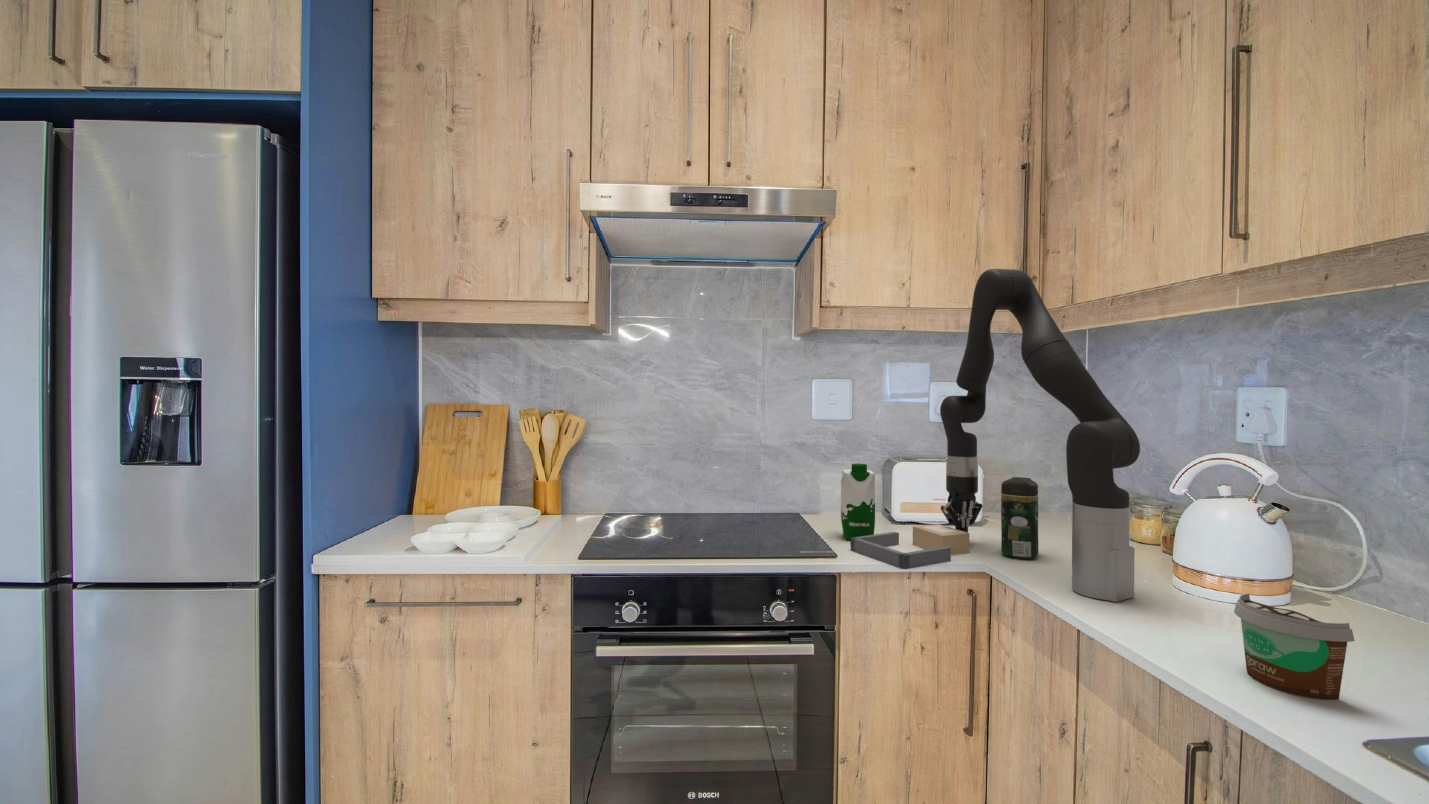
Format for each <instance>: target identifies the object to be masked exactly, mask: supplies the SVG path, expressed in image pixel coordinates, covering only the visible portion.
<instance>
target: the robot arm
mask: <svg viewBox="0 0 1429 804" xmlns="http://www.w3.org/2000/svg"><path fill="white" fill-rule="evenodd" d="M997 310H1004V311H1005V310H1008V311H1009V312H1010V313H1011V314H1012V315H1013V316H1014V318H1015V319H1016V322H1017V323H1018V324H1019V325H1020V329H1021V331H1022V332H1021V333H1022V334H1021V335H1022V336H1021V343H1020V344H1021V347H1020V353H1021V358H1022V360H1023V362H1024V365H1025V366H1026V368H1027V369H1028V371H1029V373H1030V374H1031V376H1032V378H1033V379H1034V380H1035V382H1036V384H1038V385H1039V387H1041V388H1042V389H1043V390H1044V391H1045V392H1047V393H1048V394H1049V395H1050V396H1051V397H1053V398H1054V399H1055V400H1057V402H1059V403H1061V404H1063V406H1065V407H1066V408H1067V409H1068V410H1069V411H1070V412H1071V413H1072V414H1073V415H1074V416H1075V418H1076V419H1077V420H1078V421H1079V423H1078V424H1076V425H1074V426H1073V427H1072V428H1071V430H1070V431H1069V433H1068V436H1067V439H1066V445H1065V446H1066V447H1065V449H1066V451H1065V454H1066V457H1065V458H1066V471H1067V474H1066V476H1067V477H1066V478H1067V484H1068V488H1069V490H1070V493H1071V495H1072V496H1071V498H1072V506H1071V507H1072V509H1071V510H1072V511H1071V515H1072V516H1071V520H1072V521H1071V522H1072V523H1071V526H1072V527H1071V530H1072V531H1071V532H1072V533H1071V535H1072V536H1071V541H1072V542H1071V589H1072V591H1073V592H1074V593H1076V594H1079V595H1082V596H1084V597H1089V598H1092V599H1097V600H1103V601H1104V600H1105V601H1109V602H1113V603H1118V602H1122V601H1125V600H1129V599H1132V598H1135V548H1134V547H1133V546H1131V545H1130V502H1131V501H1130V494H1129V492H1128V491H1127V490H1126V489H1123V488H1122V487H1120V486H1118V485H1117V484H1116V481H1115V478H1114V477H1115V476H1114V469H1122V468H1125V467H1126V468H1127V467H1129V466H1131V465H1133V464H1135V462H1137V460H1138V458H1139V456H1140V454H1141V444H1140V439H1139V437H1138V435H1137V433H1136V432H1135V430H1134V429H1133V427H1132V426H1131V425H1130V423H1128V421H1127V420H1126V419H1125V418H1124V417H1123V415H1122V414H1121V413H1120V412H1119V411H1118V409H1117V408H1116V407H1115V406H1114V405H1113V404H1112V402H1111V401H1109V399H1108V398H1107V397H1106V395H1105V394H1104V393H1103V391H1102V390H1101V388H1100V387H1099V385H1098V384H1097V382H1096V381H1095V378H1093V377H1092V375H1091V374H1090V372H1089V371H1088V370H1087V368H1086V366H1085V365H1084V364H1083V362H1082V360H1081V359H1080V357H1079V355H1078V354H1077V353H1076V351H1075V350H1074V348H1073V347H1072V345H1071V343H1070V342H1069V341H1068V338H1066V336H1065V335H1064V334H1063V333H1062V331H1061V329H1060V328H1059V326H1058V325H1057V323H1056V321H1055V320H1054V319H1053V317H1052V315H1051V314H1050V312H1049V311H1048V309H1047V307H1046V305H1045V303H1044V301H1043V299H1042V297H1041V296H1040V293H1039V291H1038V289H1037V287H1036V285H1035V284H1034V281H1033V280H1032V278H1031V276H1030V275H1028V273H1026V272H1025V271H1022V270H1020V269H1012V268H1007V269H1006V268H990V269H987V270H985V271H983V272H982V273H981V274H980V275H979V277H978V279H977V281H976V284H975V287H974V291H973V296H972V303H971V311H970V318H969V324H968V333H967V340H966V346H965V350H964V353H963V358H962V360H961V363H960V365H959V370H958V372H957V376H956V384H957V386H958V388H961V389H962V390H964V391H967V393H966V395H949V396H946V397H945V398H944V399H943V400H942V402H941V404H940V406H939V407H940V408H939V411H940V412H939V413H940V414H939V415H940V419H941V420H942V421H941V422H942V426H943V428H944V433H945V436H946V442H947V443H946V444H947V446H946V447H947V449H946V452H947V456H946V464H945V465H946V466H945V468H946V469H945V471H946V472H945V477H946V478H945V480H946V481H945V484H946V485H945V490H946V492H948V497H947V503H946V504H945V505H941V506H940V510H941V512H942V514H943V515H944V517H945V518H946V520H947V522H948V523H949V525H953V526H954V527H955V529H957V530H960V531H964V532H967V533H969V527H970V525H973V524H975V522H976V520H977V518H978V517H979V515H980V513H981V511H982V509H983V504H982V503H980V502H978V501H977V500H976V499H977V497H976V494H977V493H978V492H979V462H978V438H977V436H976V435H975V434H974V433H972V432H967V431H965V430H964V428H963V426H962V424H974V423H977V422H979V421H981V420H982V418H983V417H984V415H985V412H986V408H987V407H986V404H987V402H986V400H987V397H986V396H987V384H988V382H989V378H990V376H991V372H992V370H993V369H992V368H993V366H994V363H995V362H994V361H995V351H994V345H993V342H992V335H991V325H992V320H993V318H994V315H995V313H996V311H997Z"/></svg>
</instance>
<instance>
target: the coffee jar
mask: <svg viewBox="0 0 1429 804" xmlns="http://www.w3.org/2000/svg"><path fill="white" fill-rule="evenodd" d="M1000 486H1001V487H1000V488H1001V495H1000V501H1001V502H1000V504H1001V505H1000V507H1001V508H1000V521H1001V522H1000V523H1001V526H1000V530H1001V542H1000V543H1001V545H1000V546H1001V553H1002V555H1003V556H1005V557H1009V558H1012V559H1016V560H1035V559H1036V558H1037V557H1038V554H1039V485H1038V483H1037V482H1036V481H1034V480H1033V479H1031V477H1025V476H1023V477H1022V476H1021V477H1019V476H1012V477H1011V478H1008V479H1006V480H1004V481H1003V482H1002V483H1001V485H1000Z"/></svg>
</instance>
